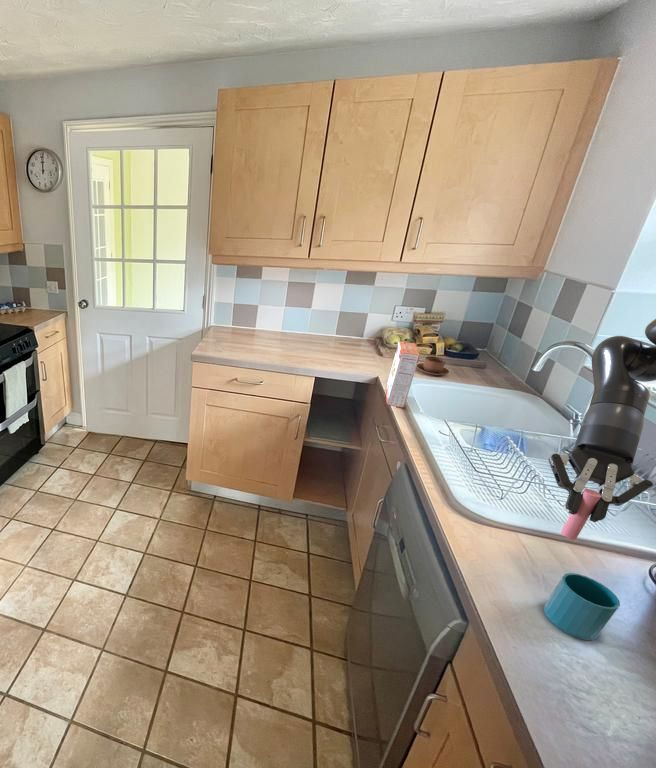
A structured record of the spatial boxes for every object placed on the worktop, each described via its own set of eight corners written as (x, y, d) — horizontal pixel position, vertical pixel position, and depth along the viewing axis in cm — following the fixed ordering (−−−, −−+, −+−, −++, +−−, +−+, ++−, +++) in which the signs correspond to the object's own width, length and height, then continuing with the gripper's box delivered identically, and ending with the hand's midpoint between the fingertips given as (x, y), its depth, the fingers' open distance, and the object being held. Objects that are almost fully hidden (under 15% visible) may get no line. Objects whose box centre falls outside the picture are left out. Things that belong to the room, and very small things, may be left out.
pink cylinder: (573, 533, 78) (598, 491, 74) (578, 541, 77) (603, 498, 72) (558, 529, 79) (582, 487, 75) (562, 537, 78) (587, 494, 73)
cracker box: (383, 390, 163) (398, 340, 155) (401, 393, 161) (417, 343, 152) (385, 405, 152) (401, 351, 143) (404, 408, 150) (421, 354, 141)
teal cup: (587, 613, 76) (608, 582, 73) (604, 647, 70) (628, 615, 67) (538, 597, 79) (556, 567, 76) (551, 629, 73) (571, 597, 70)
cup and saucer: (419, 365, 189) (423, 352, 187) (450, 372, 182) (455, 359, 179) (412, 372, 182) (416, 358, 179) (443, 380, 174) (448, 366, 171)
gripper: (565, 412, 79) (537, 495, 75) (676, 439, 70) (650, 533, 67) (553, 426, 84) (527, 503, 81) (654, 453, 76) (630, 539, 73)
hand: (583, 516), depth 74 cm, fingers closed on pink cylinder, 2 cm apart
